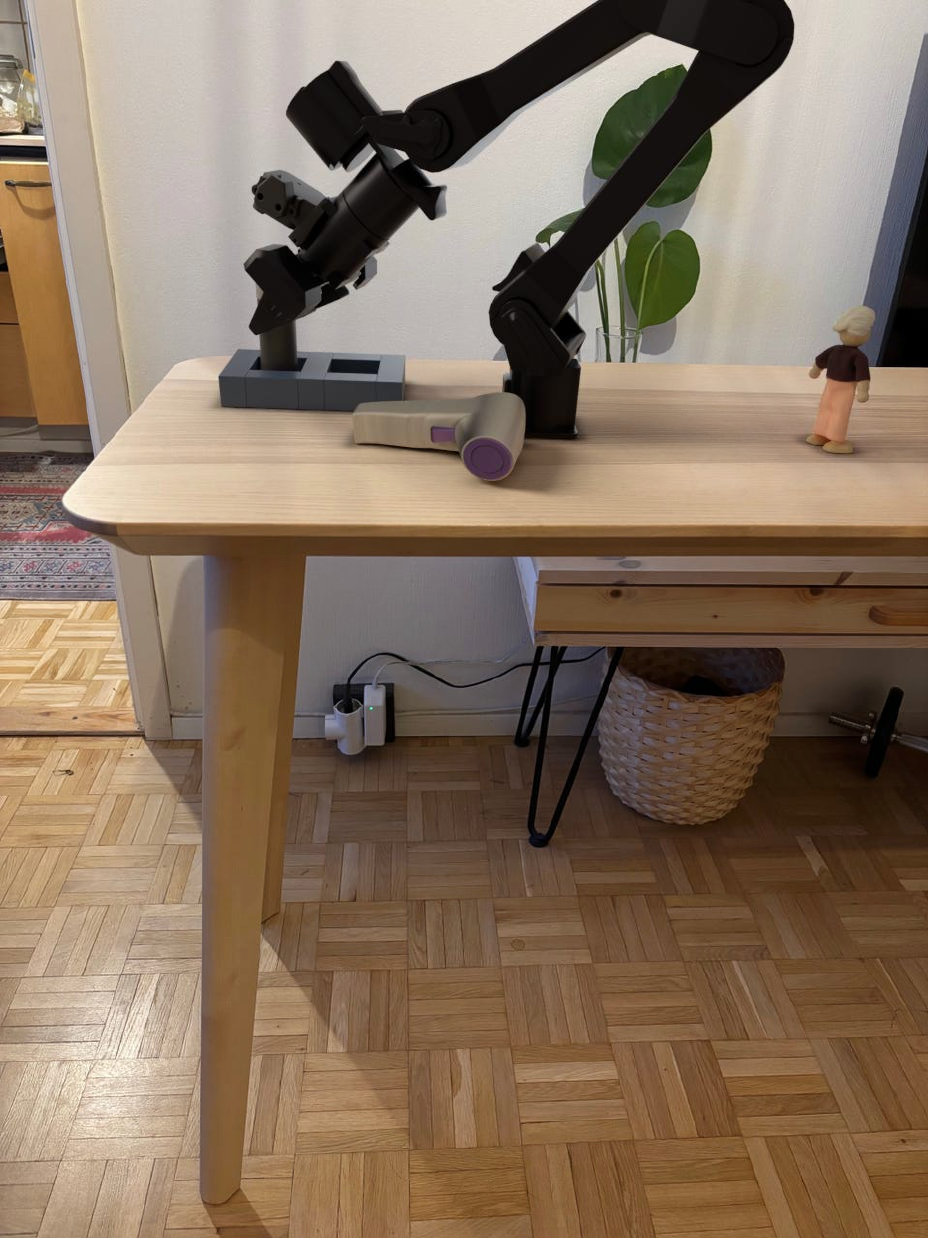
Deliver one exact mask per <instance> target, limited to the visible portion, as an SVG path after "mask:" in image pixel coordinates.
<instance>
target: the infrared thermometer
mask: <svg viewBox="0 0 928 1238" xmlns="http://www.w3.org/2000/svg"><path fill="white" fill-rule="evenodd" d="M351 417H352V428H353V429H352V431H353V438H354V439H353V440H354V444H378V445H379V444H380V445H388V446H396V447H397V446H398V447H406V448H414V449H435V450H446V451H453V452H459V453H458V454H459V455H460V459H461V462H462V464H463V466H464V467H465V469H466V470H467V471H468V472H469V473H470V474H471V475H473V476H474V477H476V478H478V479H481V480H484V481H491V482H493V481H501V480H503V479H505V478H507V476H509V474H511V473H512V471H513V469H514V467H515V465H516V462H517V460H518V458H519V456H520V454H521V453H522V450H523V447H524V440H525V436H524V433H525V422H526V415H525V406H524V403H523V401H522V399H521V398H520V397H518V396H517V395H515V394H511V393H506V392H502V391H500V392H499V391H496V392H490V393H489V392H488V393H484V394H480V395H477V396H475V397H468V398H467V397H465V398H449V399H448V398H447V399H428V400H425V399H424V400H403V401H381V402H368V403H360V404H358V406H357V407H356V409H355V410H354V411H352V416H351Z"/></svg>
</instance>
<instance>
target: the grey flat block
mask: <svg viewBox="0 0 928 1238" xmlns="http://www.w3.org/2000/svg"><path fill="white" fill-rule="evenodd" d="M235 351H236V352H235V353H234V354H233V355H232V356H231V358H230V359H229V361H228V362H227V363H226V365H225V366H224V368H223V369H222V370H221V372H220V373H219V374H218V388H219V398H220V406H221V407H222V408H256V409H257V408H258V409H284V410H285V409H287V410H309V411H310V410H311V411H312V410H317V411H341V412H342V411H343V412H354V410H355V409H356V407H357V406H358V404H360V403H368V402H381V401H404V398H405V389H406V355H405V354H384V353H360V352H359V353H357V352H330V351H329V352H328V351H327V352H326V351H300V350H297V361H298V372H295V371H267V370H261V355H260V349H247V348H245V349H244V348H238V349H236V350H235Z"/></svg>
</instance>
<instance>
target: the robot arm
mask: <svg viewBox="0 0 928 1238" xmlns="http://www.w3.org/2000/svg"><path fill="white" fill-rule="evenodd" d="M648 36H654V37H658V38H660V39H663V40H665V41H670V42H671V43H675V44H678V45H681V46H683V47H686V48H689V49H692V50H695V51H697V53H696V54H695V56H694V58H693V60H692V62H691V63H690V66H689V67H688V68H687V71H686V73H685V75H684V77H683V79H682V81H681V82H680V84H679V86H678V88H677V90H676V91H675V94H674V96H673V97H672V98H671V100H670V102H669V103H668V104H666V106H665V108H663V110H661V113H660V114H659V115H658V116H657V117H656V118H655V120H654V121H653V122H652V124H651V125H650V126H649V128H648V129H647V130H646V131H645V133H643V135H642V136H641V137H640V138H639V140H638V141H637V142H636V143H635V145H634V146H633V147H632V149H631V150H630V151H629V152H628V154H626V156H625V157H624V158H623V159H622V161H621V162H620V163H619V165H618V166H617V167H616V168H615V170H614V171H612V173H611V175H610V176H609V177H608V178H607V179H606V181H605V182H604V183H603V184H602V186H601V187H600V188H599V189H598V190H597V192H596V193H595V194H594V195H593V197H592V198H591V199H590V200H589V202H588V203H587V204H586V205H585V207H584V208H583V209H582V210H581V212H580V213H579V214H578V215H577V217H576V218H575V219H574V220H573V221H572V223H571V224H570V225H569V227H568V228H567V229H566V230H565V232H564V233H563V234H562V235H561V236H560V238H558V240H557V241H556V242H555V243H554V244H553V245H552V246H550V247H549V249H547V250H544V249H543V247H542V245H541V244H540V243H539V242H538V241H536V242H534V243H533V244H530V245H529V246H528V247H526V248H525V249H523V250H522V251H520V253H519V254H518V256H517V258H515V259H516V260H515V261H514V262H513V265H512V267H511V268H510V270H509V272H508V274H507V275H506V276H505V277H504V278H503V279H501V280H500V281H498V282H497V283H496V284H494V285H493V286H491V289H492V291H493V292H497V294H496V295H494V297H493V299H492V301H491V303H490V305H489V308H488V319H489V326H490V329H491V331H492V334H493V336H494V337H495V338H496V339H497V341H498V342H499V343H500V344H501V345H503V347H504V351H505V355H506V358H507V362H508V366H509V372H504V373H503V375H502V386H501V387H502V388H501V392H506V393H511V394H515V395H517V396H518V397H520V398H521V399H522V401H523V403H524V406H525V415H526V422H525V433H524V437H527V438H528V437H530V438H558V439H559V438H560V439H563V438H565V439H576V438H578V436H579V431H578V428H577V426H576V419H577V410H578V409H577V408H578V402H579V401H578V400H579V391H580V383H581V372H582V366H581V364H580V361H579V360H578V359H577V358H575V357H576V356H577V355H578V354H579V352H580V350H581V348H582V346H583V344H584V342H585V340H586V337H587V333H586V331H585V330H584V328H583V327H582V326H581V325H580V324H579V322H578V321H577V320H576V318H575V317H574V316H573V315H572V314H571V313H570V311H569V309H570V307H571V306H572V304H573V302H574V301H575V299H576V297H577V296H578V294H579V292H580V290H581V288H582V286H583V285H584V284H585V281H586V279H587V277H588V276H589V274H590V272H591V270H592V268H593V267H594V265H595V264H596V263H597V261H599V259H600V258H601V257H602V256H603V254H604V253H605V252H606V251H607V250H609V247H610V246H612V244H613V243H614V241H615V240H616V239H617V238H618V237H619V236H620V234H622V232H623V231H624V230H625V229H626V227H628V225H629V224H630V223H631V222H632V221H633V219H634V218H635V217H636V216H637V214H638V213H639V212H640V211H641V209H643V207H645V205H646V204H647V203H648V202H649V200H650V199H651V198H652V197H653V196H654V194H655V193H656V192H657V191H658V190H659V188H660V187H661V186H662V185H663V184H664V183H665V182H666V180H667V179H668V178H669V177H670V175H671V174H673V172H674V171H675V170H676V168H678V166H679V165H680V164H681V163H682V162H683V160H684V159H685V158H686V157H687V156H688V154H689V153H690V152H691V151H692V150H693V148H694V147H695V146H696V145H697V144H698V143H699V141H701V139H702V138H703V137H704V136H705V134H706V133H708V131H709V130H710V129H711V128H713V127H714V126H715V125H716V124H717V123H718V122H719V121H721V120H722V119H723V118H724V117H726V116H727V115H728V114H729V113H730V112H731V111H732V110H734V109H735V108H736V107H737V106H738V105H739V104H741V103H742V102H743V101H744V100H745V99H747V98H748V97H749V96H750V95H751V94H752V93H754V91H756V90H757V89H758V88H759V87H761V85H763V84H764V83H765V82H766V81H767V80H769V79H770V78H771V77H772V76H773V75H774V74H776V73H777V72H778V71H779V69H780V68H782V66H783V65H784V63H785V61H786V60H787V59H788V57H789V54H790V51H791V49H792V47H793V43H794V39H795V20H794V16H793V13H792V10H791V8H790V6H789V5H788V3H787V2H786V1H785V0H595V1H594V2H593V3H591V4H590V5H588V6H587V7H585V8H583V9H582V10H580V11H579V12H578V13H576V14H575V15H573V16H571V17H569V18H568V19H567V20H565V21H564V22H563V23H561V24H559V25H558V26H556V27H554V28H553V29H551V30H550V31H548V32H547V33H545V34H544V35H542V36H541V37H539V38H538V39H536V40H535V41H533V42H531V43H530V44H529V45H527V46H526V47H524V48H523V49H521V50H520V51H518V52H516V53H515V54H513V55H512V56H510V57H509V58H507V59H505V60H504V61H503V62H501V63H499V64H498V65H496V66H495V67H494V68H491V69H489V70H486V71H484V72H481V73H479V74H476V75H473V76H469V77H467V78H464V79H461V80H458V81H456V82H452V83H450V84H448V85H445V86H442V87H441V88H437V89H435V90H433V91H431V92H428V93H425V94H422V95H420V96H419V97H416V98H415V99H414V100H413V101H411V103H409V105H407V107H406V109H405V110H404V111H403V110H402V109H387V110H383V108H381V107H380V105H379V104H378V103H377V101H376V100H375V99H374V97H373V96H372V95H371V94H370V92H369V91H368V90H367V88H366V87H365V86H364V85H363V83H362V82H361V81H360V79H359V76H358V74H357V73H356V71H355V69H354V68H353V67H352V66H351V64H350V63H349V62H348V61H346V60H335V61H334V62H333V63H332V64H331V66H329V68H328V69H326V70H325V71H323V72H321V73H320V74H318V75H317V76H315V77H314V78H313V79H312V80H311V81H310V82H309V83H307V84H306V86H304V85H303V86H301V87H300V88H299V89H298V90H297V92H296V93H295V94H294V95H293V97H292V99H291V100H290V102H288V106H287V108H286V109H285V116H286V118H287V119H288V121H289V122H290V123H291V124H292V125H293V127H294V128H295V130H297V131H298V133H299V134H300V135H301V137H302V138H303V139H304V140H305V142H306V143H307V144H308V145H309V146H310V148H311V149H312V150H313V151H314V153H315V154H316V155H317V156H318V158H319V159H320V160H321V161H322V162H323V164H324V165H325V166H326V168H328V170H329V171H336V170H337V169H340V168H341V167H342V169H344V171H345V172H346V173H351V172H353V171H355V170H356V169H358V168H359V167H360V166H361V165H362V164H364V162H365V161H367V159H368V158H369V157H370V156H371V155H372V154H373V153H374V152H375V153H374V154H373V156H371V158H370V159H369V160H368V161H367V162H366V163H365V164H364V165H363V166H362V168H361V169H360V170H359V171H358V173H357V174H356V175H354V177H353V178H352V179H351V180H350V181H349V183H347V185H346V186H345V187H344V188H343V189H342V190H341V191H340V192H339V193H338V194H337V196H332V197H330V196H326V195H324V194H323V193H322V192H321V191H320V190H318V189H316V188H315V187H313V186H312V185H309V183H307V182H305V181H304V180H302V179H301V178H299V177H298V176H296V175H294V174H292V173H290V172H288V171H286V170H283V169H276V170H271V171H264V172H263V174H262V175H260V176H259V179H258V182H256V184H253V185H252V186H251V189H250V190H251V194H252V195H253V196H254V197H253V204H252V208H253V210H255V211H256V212H257V213H259V214H260V215H266V216H268V217H269V218H271V219H273V220H274V221H275V222H278V223H279V224H280V225H282V226H284V227H285V228H288V229H290V230H292V231H291V232H290V234H289V235H288V236H287V238H288V239H289V240H290V241H291V243H292V244H293V245H295V247H296V248H297V253H294V251H293V250H292V249H291V248H290V247H289V246H288V245H287V244H280V243H279V244H277V243H272V244H269V245H266V246H262V247H259V248H256V249H255V250H254V251H253V252H252V253H251V254H250V255H249V256H248V258H247V259H246V260H245V262H244V263H243V268H244V271H245V272H246V273H247V275H248V276H249V277H250V279H252V280H253V282H254V283H255V285H256V284H257V285H258V286H259V287H260V288H261V290H262V291H263V294H262V297H261V299H260V301H259V304H258V306H256V308H255V310H254V313H253V315H252V317H251V319H250V322H249V324H248V329H249V331H250V332H251V333H252V334H253V335H254V336H259V334H262V333H264V332H266V331H269V330H271V329H274V328H276V327H279V326H282V325H284V324H287V323H289V322H292V321H295V320H296V321H297V320H299V319H302V318H304V317H307V316H308V315H311V314H313V313H315V312H317V310H318V309H320V308H322V307H325V306H328V305H331V304H332V303H335V302H337V301H339V300H341V299H343V298H345V297H348V296H349V295H350V289H348V287H347V286H346V285H349V284H350V283H352V282H353V283H352V287H353V289H354V290H355V291H357V290H360V289H362V288H364V287H366V286H367V285H368V284H369V283H370V282H371V281H372V280H373V279H374V277H376V276H377V275H378V259H376V257H375V255H377V254H380V253H382V252H384V251H385V250H386V249H387V248H388V247H389V245H391V243H390V242H389V241H390V239H391V238H392V237H393V236H394V235H396V233H397V232H398V231H399V230H400V229H401V228H402V227H404V225H405V224H406V223H407V222H408V221H409V220H410V219H411V218H412V217H413V216H414V215H415V213H416V212H417V211H418V210H421V211H422V213H423V214H424V215H425V216H426V218H427V219H428V220H429V221H431V222H432V221H435V220H439V219H441V218H444V217H445V216H447V213H448V211H447V210H448V209H447V200H446V197H447V196H446V195H447V191H448V186H447V185H446V184H444V183H443V184H436V183H433V182H432V181H431V180H430V178H429V177H428V176H427V175H426V173H425V172H428V173H432V174H435V173H442V172H446V171H450V170H454V169H457V168H462V167H464V166H466V165H468V164H469V163H471V162H472V161H473V160H474V159H476V158H477V157H478V156H479V155H480V154H481V153H482V152H483V151H484V150H485V149H486V148H488V147H489V146H490V145H491V144H492V143H493V142H494V141H495V140H497V139H498V137H499V136H501V134H502V133H503V132H504V131H505V130H506V129H507V128H508V127H509V126H510V125H511V124H512V123H513V122H514V121H515V120H516V119H517V118H518V117H519V116H520V115H522V114H523V113H524V112H526V111H527V110H529V109H530V108H532V107H533V106H535V105H537V104H538V103H540V102H541V101H544V100H545V99H546V98H548V97H549V96H551V95H553V94H554V93H556V92H557V91H559V90H561V89H563V88H565V87H566V86H567V85H569V84H571V83H572V82H574V81H575V80H577V79H579V78H580V77H582V76H583V75H586V74H587V73H589V72H590V71H592V70H593V69H596V68H597V67H598V66H600V65H602V64H603V63H604V62H606V61H607V60H610V59H611V58H612V57H614V56H616V55H618V54H620V53H621V52H622V51H624V50H626V49H627V48H629V47H630V46H632V45H633V44H635V43H637V42H638V41H640V40H642V39H644V38H645V37H648ZM397 151H400V152H403V153H404V154H406V156H407V159H404V158H403V157H402V156H401V155H400V154H399V153H398V152H397ZM424 171H425V172H424Z"/></svg>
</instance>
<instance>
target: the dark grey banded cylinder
mask: <svg viewBox="0 0 928 1238" xmlns="http://www.w3.org/2000/svg"><path fill="white" fill-rule="evenodd" d="M262 294H263V291H262V290H261V288H260V287H259V286H258V285H257V284H256V283H255V296H256V305H257V306H258V304H259V301H260V299H261V297H262ZM257 306H256V307H257ZM258 336H259V337H258V338H259V350H260V355H261V370H267V371H295V372H298V361H297V351H298V341H297V339H298V338H297V320H295V321H292V322H289V323H287V324H284V325H282V326H279V327H276V328H274V329H271V330H269V331H266V332H264V333H262V334H259V335H258Z"/></svg>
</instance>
